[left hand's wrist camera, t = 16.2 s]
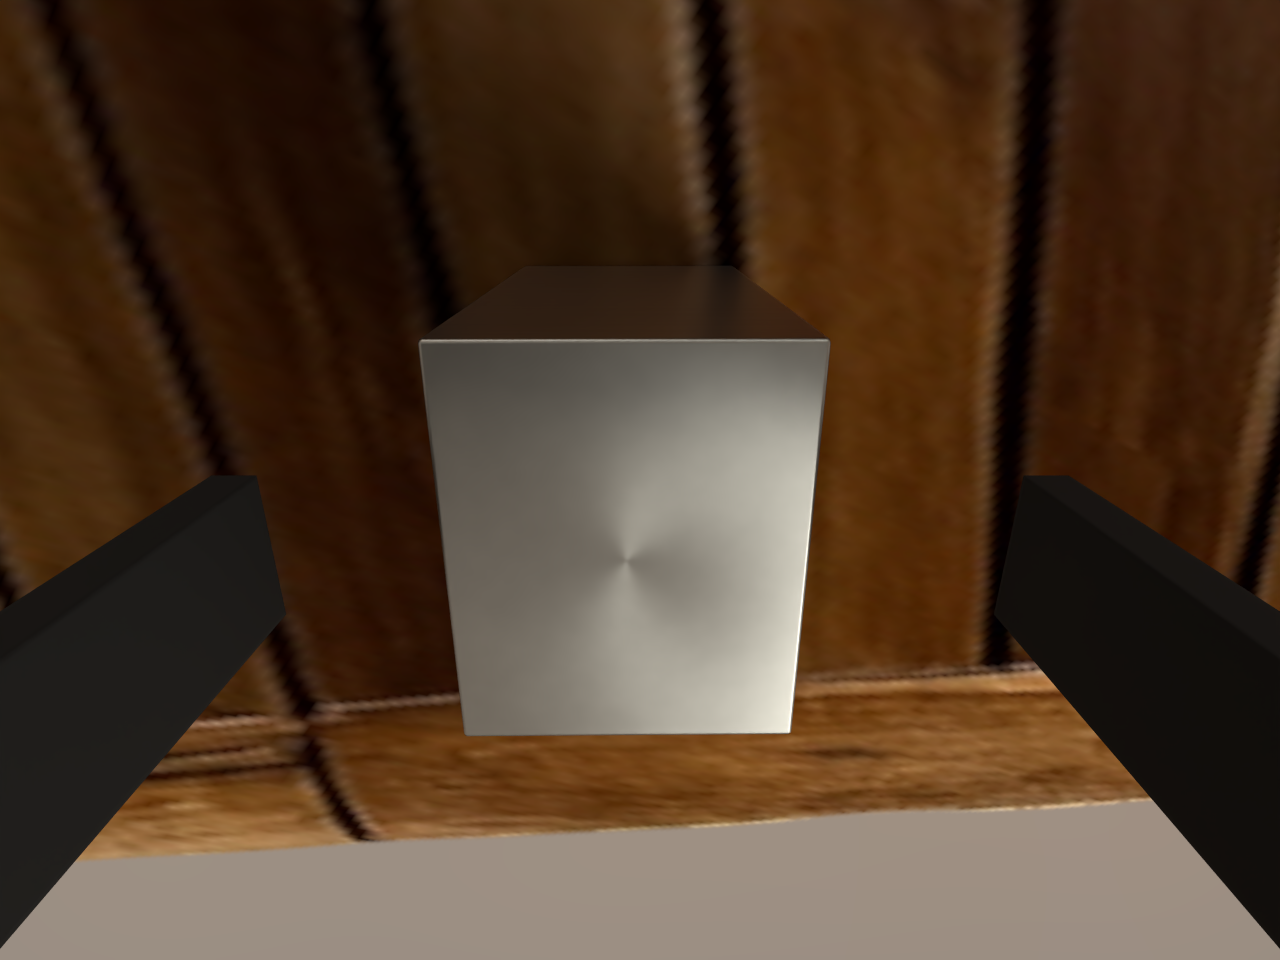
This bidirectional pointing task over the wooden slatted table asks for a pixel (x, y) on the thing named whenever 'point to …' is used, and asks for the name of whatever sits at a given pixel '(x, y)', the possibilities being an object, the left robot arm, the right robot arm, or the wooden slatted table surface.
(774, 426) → the grey boxy piece
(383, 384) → the wooden slatted table surface
